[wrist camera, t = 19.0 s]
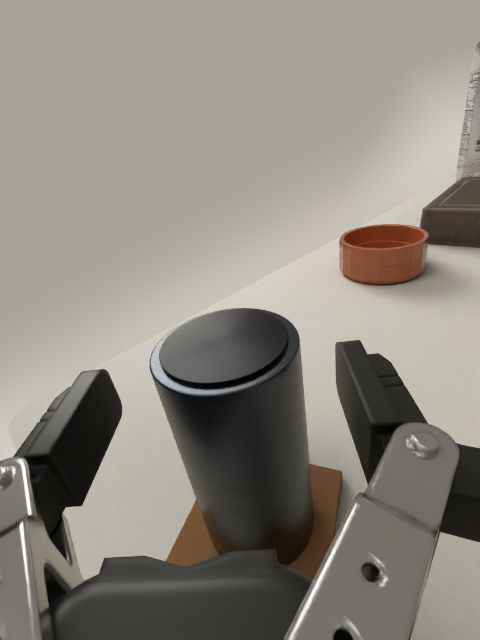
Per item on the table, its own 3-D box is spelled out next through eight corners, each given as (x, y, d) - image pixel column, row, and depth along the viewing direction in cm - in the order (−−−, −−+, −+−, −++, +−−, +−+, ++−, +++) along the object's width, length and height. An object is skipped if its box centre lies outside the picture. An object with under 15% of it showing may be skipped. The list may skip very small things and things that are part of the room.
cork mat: (164, 575, 17) (161, 569, 16) (224, 450, 22) (223, 444, 22) (320, 640, 14) (319, 635, 13) (342, 477, 20) (342, 470, 19)
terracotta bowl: (335, 285, 42) (335, 251, 39) (344, 256, 49) (344, 226, 47) (427, 287, 38) (432, 248, 35) (421, 255, 46) (425, 222, 43)
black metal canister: (189, 551, 17) (115, 379, 11) (232, 458, 21) (193, 302, 16) (300, 593, 15) (273, 404, 9) (322, 480, 19) (312, 307, 14)
